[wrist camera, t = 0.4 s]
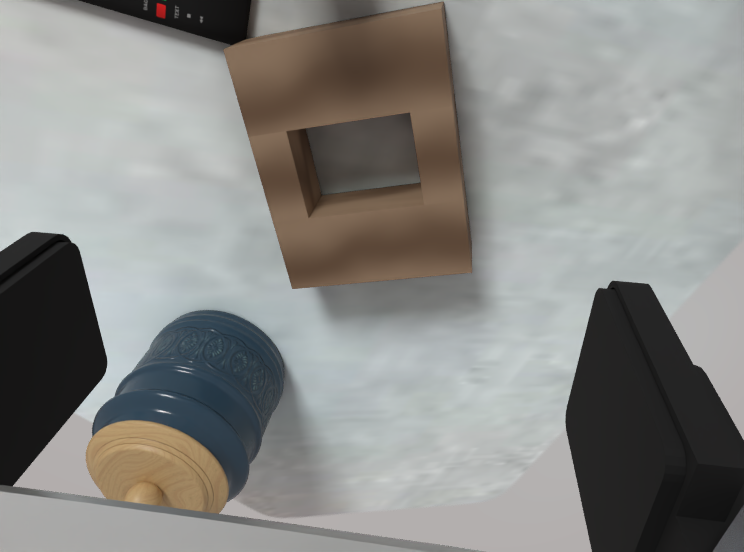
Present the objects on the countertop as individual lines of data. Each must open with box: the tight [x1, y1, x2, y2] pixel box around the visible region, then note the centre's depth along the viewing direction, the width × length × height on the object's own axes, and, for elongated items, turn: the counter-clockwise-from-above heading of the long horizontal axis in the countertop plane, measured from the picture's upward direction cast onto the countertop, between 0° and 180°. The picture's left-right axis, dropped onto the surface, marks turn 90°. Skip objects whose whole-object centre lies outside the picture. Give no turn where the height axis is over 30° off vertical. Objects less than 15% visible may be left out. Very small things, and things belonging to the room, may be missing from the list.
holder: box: [223, 2, 472, 289], centre depth 42 cm, size 18×14×4 cm
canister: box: [86, 310, 284, 514], centre depth 49 cm, size 13×13×18 cm
